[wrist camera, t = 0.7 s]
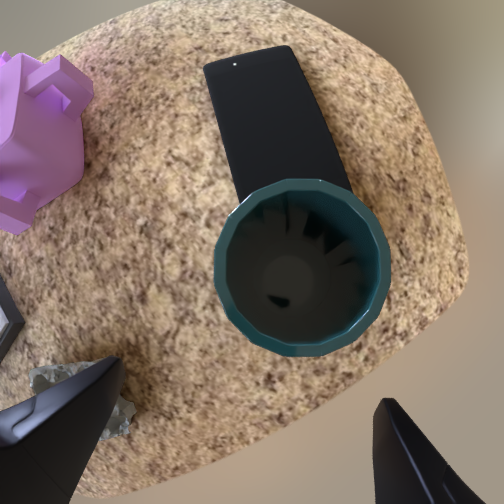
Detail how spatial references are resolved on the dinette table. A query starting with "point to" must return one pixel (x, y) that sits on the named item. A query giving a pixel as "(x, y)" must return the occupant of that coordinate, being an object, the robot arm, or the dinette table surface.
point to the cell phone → (271, 121)
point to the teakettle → (39, 134)
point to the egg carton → (57, 373)
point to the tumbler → (302, 267)
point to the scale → (8, 320)
